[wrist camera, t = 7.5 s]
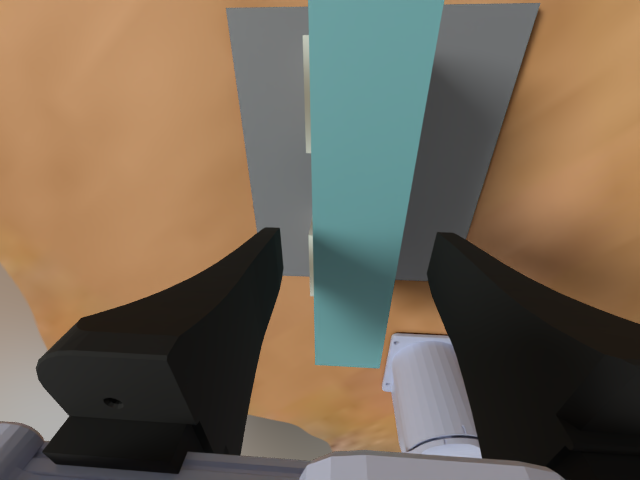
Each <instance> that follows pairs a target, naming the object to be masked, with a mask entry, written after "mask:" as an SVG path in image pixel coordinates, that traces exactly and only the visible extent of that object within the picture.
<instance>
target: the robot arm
mask: <svg viewBox="0 0 640 480" xmlns="http://www.w3.org/2000/svg"><path fill="white" fill-rule="evenodd" d="M283 269H284V267H283V256H282V245H281V233H280V228H274V227H265V228H263V229H262V230H261V231H259V232H258V233H257V234H255V235H254V236H253V237H252V238H250V239H249V240H248V241H247V242H245V243H244V244H243V245H241V246H240V247H239V248H237V249H236V250H235V251H233V252H232V253H230V254H229V255H228V256H226V257H225V258H223V259H222V260H220V261H219V262H217V263H216V264H214V265H213V266H211V267H209V268H208V269H206V270H204V271H202V272H201V273H199V274H197V275H195V276H193V277H191V278H189V279H187V280H185V281H183V282H181V283H179V284H177V285H174V286H172V287H170V288H168V289H166V290H163V291H161V292H159V293H156V294H154V295H151V296H148V297H146V298H143V299H140V300H138V301H135V302H132V303H129V304H126V305H123V306H120V307H117V308H113V309H110V310H107V311H104V312H100V313H97V314H94V315H90V316H87V317H83V318H81V319H80V320H79V321H78V322H77V323H76V324H75V325H74V326H73V327H72V328H71V329H70V330H69V331H68V332H67V333H66V334H65V335H64V336H63V337H62V338H61V339H60V340H59V341H57V342H56V343H55V344H54V345H53V346H52V347H51V348H50V349H49V350H48V351H47V352H46V353H45V354H44V355H43V356H42V357H41V358H40V359H39V360H38V364H37V366H36V371H37V375H38V379H39V381H40V382H41V384H42V385H43V387H44V388H45V389H46V390H47V392H48V393H49V394H50V395H51V396H52V397H53V398H54V399H55V400H56V402H57V403H58V404H59V405H60V406H61V407H62V408H63V409H64V411H65V412H66V413H67V414H68V415H69V418H68V419H67V420H66V422H65V423H64V424H63V425H62V427H61V428H60V429H59V430H58V432H57V433H56V434H55V436H54V437H53V438H52V439H51V441H44V439H43V437H42V436H41V435H40V433H39V432H37V431H36V430H35V429H33V428H32V427H30V426H27V425H25V424H22V423H15V422H3V421H0V480H640V324H638V323H635V322H632V321H629V320H626V319H623V318H620V317H618V316H615V315H612V314H610V313H607V312H604V311H602V310H599V309H596V308H594V307H591V306H589V305H587V304H584V303H582V302H579V301H577V300H574V299H572V298H570V297H567V296H565V295H563V294H561V293H558V292H556V291H554V290H552V289H550V288H548V287H546V286H544V285H542V284H540V283H538V282H536V281H534V280H532V279H530V278H528V277H526V276H524V275H523V274H521V273H519V272H517V271H515V270H514V269H512V268H510V267H508V266H507V265H505V264H503V263H502V262H500V261H498V260H497V259H495V258H494V257H492V256H490V255H489V254H487V253H486V252H484V251H483V250H481V249H479V248H478V247H476V246H475V245H473V244H472V243H470V242H469V241H467V240H465V239H464V238H462V237H460V236H459V235H457V234H455V233H450V232H437V234H436V238H435V242H434V246H433V250H432V254H431V258H430V262H429V266H428V270H427V278H428V282H429V286H430V290H431V294H432V297H433V299H434V302H435V304H436V307H437V309H438V312H439V314H440V317H441V319H442V321H443V324H444V326H445V329H446V331H447V333H448V336H444V335H423V334H403V333H395V334H393V335H392V337H391V342H390V347H389V352H388V357H387V362H386V368H385V373H384V378H383V383H382V390H383V391H387V392H391V393H392V400H393V406H394V413H395V419H396V426H397V432H398V439H399V445H400V449H401V452H402V453H399V452H385V451H371V450H356V451H336V452H332V453H329V454H327V455H324V456H321V457H319V458H316V459H313V460H312V461H306V460H291V459H279V458H265V457H251V456H240V454H241V448H242V442H243V437H244V431H245V425H246V419H247V414H248V409H249V403H250V398H251V393H252V388H253V383H254V378H255V373H256V368H257V364H258V359H259V355H260V350H261V346H262V342H263V339H264V335H265V332H266V329H267V326H268V323H269V320H270V317H271V314H272V311H273V308H274V305H275V302H276V299H277V296H278V293H279V290H280V285H281V280H282V275H283Z"/></svg>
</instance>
